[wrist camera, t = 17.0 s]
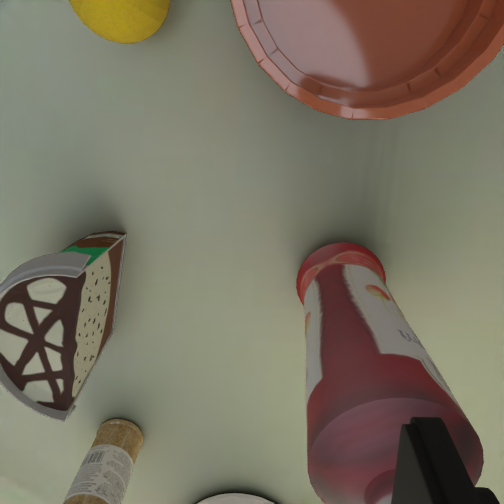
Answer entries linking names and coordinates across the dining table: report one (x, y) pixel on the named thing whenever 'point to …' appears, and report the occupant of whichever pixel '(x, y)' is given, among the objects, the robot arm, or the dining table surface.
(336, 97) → the fruit bowl
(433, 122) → the dining table surface
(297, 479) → the dining table surface
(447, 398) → the liquor
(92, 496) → the sprinkles bottle
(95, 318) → the food container
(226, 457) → the dining table surface
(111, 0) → the lemon
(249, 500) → the chalice
